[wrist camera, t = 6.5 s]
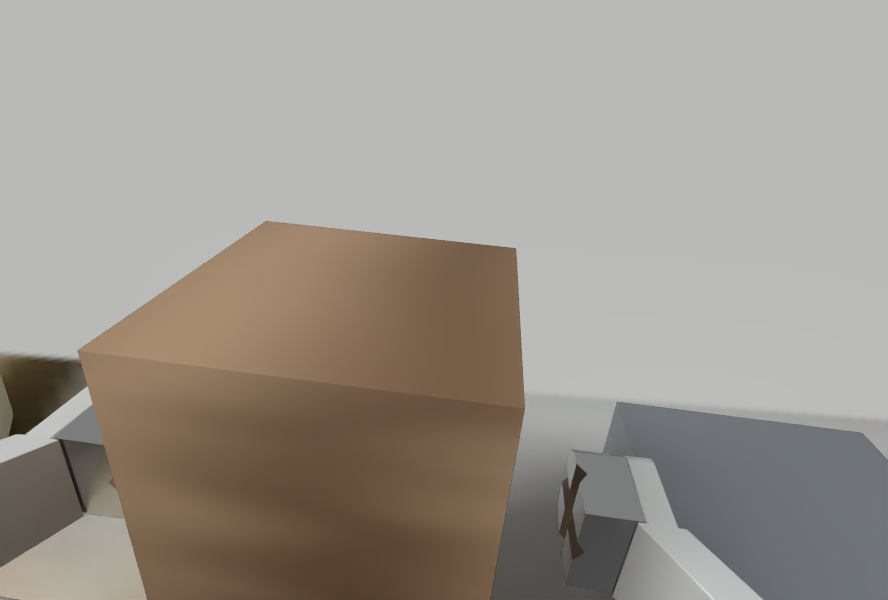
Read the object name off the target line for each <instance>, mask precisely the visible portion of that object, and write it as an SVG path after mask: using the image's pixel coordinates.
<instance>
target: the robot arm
mask: <svg viewBox="0 0 888 600" xmlns="http://www.w3.org/2000/svg"><path fill="white" fill-rule="evenodd" d="M566 468H567V476H568V478H567V479H565V480H564V481H563V482H562V484H561V489H560V493H559V502H558V525H559V532H560V534H561V535H562V536H563V537H564V538H565V541H564V545H563V549H562V561H563V569H564V577H565V585H566V586H572V587H577V588H583V589H588V590H594V591H599V592H605V593H611V594H613V598H614V599H615V600H763V599H762V598H761V597H760V596H759V595H758V594H757V593H756V592H754V591H753V590H752V589H751V588H750V587H749V586H748V585H747V584H746V583H745V582H744V581H742V580H741V579H740V578H739V577H738V576H737V575H736V574H735V573H734V572H733V571H732V570H730V569H729V568H728V567H727V566H726V565H725V564H724V563H723V562H722V561H721V560H720V559H719V558H717V557H716V556H715V555H714V554H713V553H712V552H711V551H710V550H709V549H708V548H707V547H705V546H704V545H703V544H702V543H701V542H700V541H699V540H698V539H697V538H696V537H695V536H694V535H692V534H691V533H690V532H689V531H688V530H687V529H680V528H678V525H677V522H676V520H675V517H674V514H673V512H672V509H671V506H670V504H669V501H668V498H667V496H666V493H665V490H664V488H663V485H662V482H661V480H660V477H659V474H658V472H657V469H656V466H655V464H654V462H653V461H652V460H651V459H649V458H640V457H631V456H619V455H611V454H603V453H595V452H587V451H579V450H572V449H571V451H570V453H569V455H568V459H567V463H566ZM84 514H92V515H100V516H108V517H116V518H124V514H123V511H122V507H121V504H120V500H119V496H118V493H117V489H116V486H115V482H114V479H113V475H112V471H111V468H110V464H109V461H108V457H107V454H106V450H105V447H104V443H103V439H102V436H101V432H100V429H99V425H98V422H97V418H96V414H95V411H94V407H93V404H92V400H91V397H90V393H89V390H88V386H87V387H86V388H84V389H83V390H82V391H80V392H79V393H78V394H77V395H75V396H74V397H73V398H71V399H70V400H69V401H68V402H66V403H65V404H64V405H63V406H61V407H60V408H59V409H57V410H56V411H55V412H54V413H52V414H51V415H50V416H48V417H47V418H46V419H45V420H43V421H42V422H41V423H39V424H38V425H37V426H36V427H34V428H33V429H32V430H31V431H29V432H28V433H27V434H25V435H21V434H16V435H13V436H10V437H8V438H5V439H2V440H0V567H2V566H3V565H5V564H7V563H8V562H10V561H12V560H13V559H15V558H16V557H18V556H20V555H21V554H23V553H25V552H26V551H28V550H29V549H31V548H33V547H34V546H36V545H37V544H39V543H41V542H42V541H44V540H46V539H47V538H49V537H50V536H52V535H54V534H55V533H57V532H59V531H60V530H62V529H63V528H65V527H67V526H68V525H70V524H72V523H73V522H75V521H76V520H78V519H80V518H81V517H83V516H84ZM0 600H18V599H12V598H6V597H0Z"/></svg>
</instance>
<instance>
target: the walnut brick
mask: <svg viewBox="0 0 888 600" xmlns="http://www.w3.org/2000/svg"><path fill="white" fill-rule="evenodd" d="M78 354H79V357H80V361H81V365H82V368H83V372H84V375H85V379H86V382H87V386H88V390H89V393H90V397H91V400H92V404H93V407H94V411H95V414H96V418H97V422H98V425H99V429H100V432H101V436H102V439H103V443H104V447H105V450H106V454H107V457H108V461H109V464H110V468H111V471H112V475H113V479H114V482H115V486H116V489H117V493H118V496H119V500H120V504H121V507H122V511H123V514H124V518H125V521H126V525H127V528H128V532H129V536H130V539H131V543H132V546H133V550H134V553H135V557H136V561H137V564H138V568H139V571H140V575H141V578H142V582H143V585H144V589H145V593H146V596H147V600H490V597H491V591H492V586H493V581H494V575H495V570H496V564H497V559H498V553H499V548H500V542H501V537H502V531H503V526H504V520H505V515H506V509H507V504H508V498H509V493H510V487H511V482H512V476H513V471H514V465H515V460H516V454H517V449H518V443H519V438H520V432H521V427H522V421H523V416H524V410H525V403H524V385H523V367H522V349H521V331H520V311H519V293H518V275H517V257H516V248H508V247H499V246H490V245H481V244H471V243H462V242H453V241H444V240H435V239H426V238H417V237H407V236H398V235H389V234H380V233H371V232H361V231H353V230H344V229H334V228H325V227H316V226H307V225H297V224H288V223H280V222H270V221H265V222H264V223H263V224H261V225H260V226H258V227H257V228H255V229H254V230H252V231H251V232H249V233H248V234H246V235H245V236H244V237H242V238H241V239H239V240H238V241H236V242H235V243H233V244H232V245H231V246H229V247H228V248H226V249H225V250H223V251H222V252H220V253H219V254H217V255H216V256H214V257H213V258H212V259H210V260H209V261H208V262H206V263H204V264H203V265H201V266H200V267H198V268H197V269H196V270H194V271H193V272H191V273H190V274H188V275H187V276H185V277H184V278H183V279H181V280H180V281H178V282H177V283H175V284H174V285H172V286H171V287H169V288H168V289H167V290H165V291H164V292H162V293H161V294H159V295H158V296H156V297H155V298H153V299H152V300H150V301H149V302H148V303H146V304H145V305H143V306H142V307H140V308H139V309H137V310H136V311H134V312H133V313H132V314H130V315H129V316H127V317H126V318H124V319H123V320H122V321H120V322H119V323H117V324H116V325H114V326H113V327H111V328H110V329H108V330H107V331H105V332H104V333H102V334H101V335H100V336H98V337H97V338H96V339H94V340H92V341H91V342H89V343H88V344H86V345H85V346H84V347H82V348H81V349H79V350H78Z"/></svg>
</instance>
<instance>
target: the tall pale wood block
mask: <svg viewBox="0 0 888 600" xmlns="http://www.w3.org/2000/svg"><path fill="white" fill-rule="evenodd" d="M12 419H13V412H12V407H11V405H10V402H9V399H8V395H7V392H6V389H5V386H4V383H3V380H2V377H1V374H0V440H2V439H5V438H8V437H9V432H10V428H11V424H12Z"/></svg>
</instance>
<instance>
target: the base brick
mask: <svg viewBox="0 0 888 600" xmlns="http://www.w3.org/2000/svg"><path fill="white" fill-rule="evenodd" d="M603 454H611V455H619V456H631V457H640V458H649V459H651V460H652V461H653V462H654V464H655V466H656V469H657V472H658V474H659V477H660V480H661V482H662V485H663V488H664V490H665V493H666V496H667V498H668V501H669V504H670V506H671V509H672V512H673V514H674V517H675V520H676V522H677V525H678V528H680V529H687V530H688V531H689V532H690V533H691V534H692V535H694V536H695V537H696V538H697V539H698V540H699V541H700V542H701V543H702V544H703V545H704V546H705V547H707V548H708V549H709V550H710V551H711V552H712V553H713V554H714V555H715V556H716V557H717V558H719V559H720V560H721V561H722V562H723V563H724V564H725V565H726V566H727V567H728V568H729V569H730V570H732V571H733V572H734V573H735V574H736V575H737V576H738V577H739V578H740V579H741V580H742V581H744V582H745V583H746V584H747V585H748V586H749V587H750V588H751V589H752V590H753V591H754V592H756V593H757V594H758V595H759V596H760V597H761V598H762V599H763V600H888V460H887V459H886V458H885V457H884V456H883V454H882V453H881V452H880V451H879V450H878V449H877V448H876V447H875V446H874V445H873V444H872V443H871V442H870V441H869V440H868V439H867V437H866V436H865V435H864V434H863V433H859V432H851V431H843V430H835V429H827V428H820V427H812V426H804V425H796V424H788V423H780V422H772V421H764V420H757V419H749V418H741V417H733V416H725V415H717V414H709V413H702V412H694V411H686V410H678V409H670V408H662V407H654V406H646V405H639V404H631V403H623V402H617V404H616V407H615V411H614V415H613V418H612V422H611V425H610V429H609V433H608V436H607V440H606V443H605V447H604V451H603Z"/></svg>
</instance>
